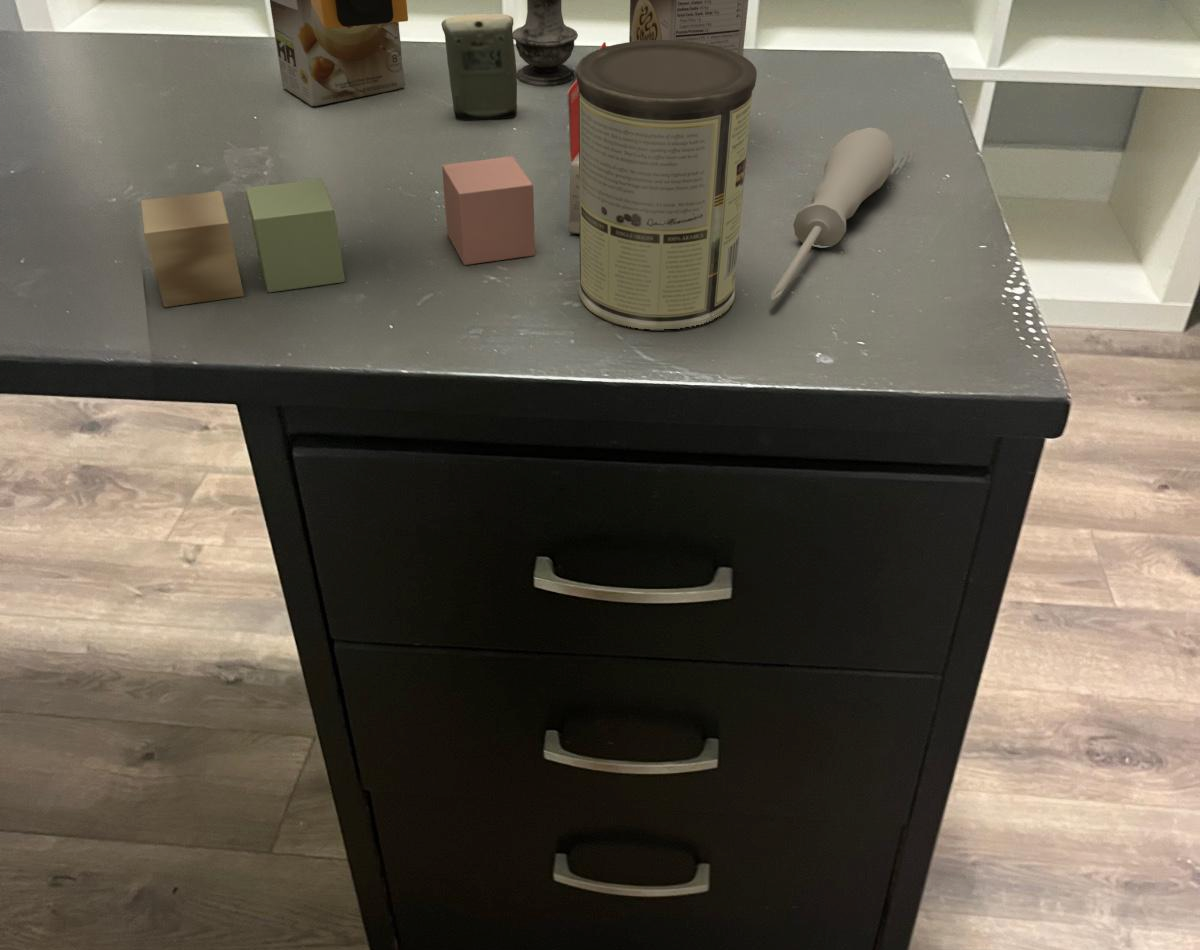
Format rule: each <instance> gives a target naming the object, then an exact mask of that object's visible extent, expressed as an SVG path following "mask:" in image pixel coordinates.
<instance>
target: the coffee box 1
mask: <svg viewBox="0 0 1200 950" xmlns="http://www.w3.org/2000/svg"><path fill="white" fill-rule="evenodd" d="M269 6H270V11H271V12H270V13H271V17H272V25H273V33H274V37H275V38H274V39H275V40H274V41H275V45H276V52H277V59H278V65H279V66H278V67H279V72H280V78H281V84H282V88H284V90H286V91H288V92H289V93H291V94H293V95H294V96H295V97H296V98H299V99H300V100H301V101H303V102H305V103H306V104H308V105H309V106H311V107H318V106H324V105H328V104H332V103H338V102H342V101H348V100H353V99H357V98H362V97H366V96H371V95H372V96H373V95H376V94H381V93H385V92H390V91H395V90H399V89H403V88H405V77H404V67H403V56H402V55H403V54H402V43H401V34H400V22H394V23H383V24H372V25H361V26H350V27H339V28H328V29H325V28H324V26H323V25H322V23H321V21H320V19H319V17H318V15H317V13H316V12H315V10H314V8H313V6H312V4H311V0H269Z"/></svg>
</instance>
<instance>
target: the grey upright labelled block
mask: <svg viewBox="0 0 1200 950" xmlns="http://www.w3.org/2000/svg"><path fill="white" fill-rule="evenodd" d="M513 27H514V17H512V16H510V15H509V14H506V13H505V14H504V13H502V14H501V13H478V14H477V13H476V14H461V15H457V16H450V17H447V18H445V19H444V20H442V22H441V29H442V32H443V34H444V42H445V51H446V61H447V68H448V77H449V85H450V92H451V98H452V109H453V114H454V118H455V119H456V120H460V121H474V120H475V121H476V120H494V119H496V120H497V119H509V118H513V117H515V116H516V115H517V111H518V78H517V72H518V71H517V61H516V52H515V51H516V50H515V42H514V41H515V40H514V39H513V31H514V29H513Z"/></svg>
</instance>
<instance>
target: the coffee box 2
mask: <svg viewBox="0 0 1200 950" xmlns="http://www.w3.org/2000/svg"><path fill="white" fill-rule="evenodd" d="M748 8H749V0H629V31H628V32H629V33H628V35H629V36H628V37H629V39H628V42H633V41H642V40H678V41H690V42H698V43H703V44H709V45H713V46H718V47H721V48H724V49H727V50H730V51H733V52H735V53H738V54H740V55H742V56H743V57H744V48H745V40H746V29H747V19H748Z"/></svg>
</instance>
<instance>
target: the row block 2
mask: <svg viewBox="0 0 1200 950" xmlns="http://www.w3.org/2000/svg"><path fill="white" fill-rule="evenodd" d="M245 195H246V199H247V205H248V210H249V215H250V219H251V225H252V230H253V235H254V240H255V247H256V250H257V256H258V260H259V264H260V268H261V272H262V276H263V279H264V283H265V287H266V290H267V293H276V292H282V291H284V292H285V291H291V290H297V289H305V288H312V287H319V286H325V285H333V284H341V283H345V282H346V279H345V278H346V277H345V272H344V265H343V259H342V250H341V245H340V239H339V231H338V224H337V217H336V210H335V207H334V205H333V202H332V199H331V197H330V194H329V192H328V190H327V186H326V184H325V182H324V180H323V178H317V179H311V180H301V181H293V182H285V183H284V182H283V183H276V184H267V185H260V186H251V187H246V188H245Z"/></svg>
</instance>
